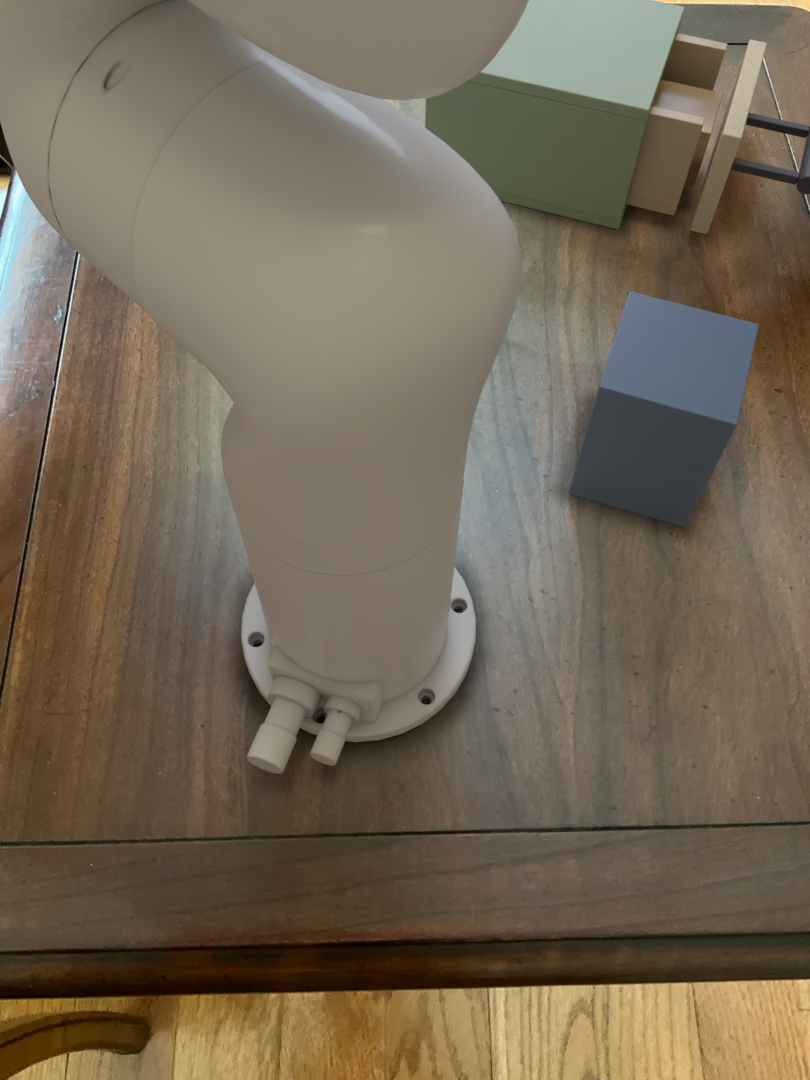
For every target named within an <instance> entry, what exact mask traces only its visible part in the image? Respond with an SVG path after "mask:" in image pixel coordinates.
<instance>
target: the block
mask: <svg viewBox="0 0 810 1080" xmlns="http://www.w3.org/2000/svg"><path fill="white" fill-rule="evenodd" d="M723 96H724V93H723V92H719V91H716V90H713V91H711V90H706V89H702V88H697V87H693V86H688V85H684V84H679V83H675V82H670V81H665V80H661V81H660V83H659V86H658V89H657V92H656V95H655V98H654V101H653V104H652V106H654V107H658V108H663V109H667V110H672V111H676V112H681V113H685V114H690V115H694V116H699V117H703V118H705V121H704V124H703V127H702V131H701V134H700V137H699V140H698V143H697V146H696V150H695V153H694V156H693V159H692V162H691V165H690V168H689V172H688V175H687V178H686V181H685V184H684V187H683V188H685V187H686V188H689V189H694V188H695V185H696V181H697V178H698V175H699V172H700V169H701V166H702V163H703V161H704V157H705V154H706V151H707V149H708V145H709V143H710V139H711V136H712V133H713V130H714V126H715V122H716V119H717V116H718V112H719V109H720V106H721V102H722V98H723Z"/></svg>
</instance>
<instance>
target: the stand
mask: <svg viewBox="0 0 810 1080" xmlns="http://www.w3.org/2000/svg"><path fill="white" fill-rule="evenodd" d="M621 312H622V313H621V316H620V319H619V322H618V325H617V328H616V331H615V334H614V337H613V341H612V344H611V347H610V350H609V353H608V357H607V360H606V363H605V366H604V369H603V373H602V375H601V378H600V381H599V385H598V388H597V392H596V395H595V398H594V401H593V406H592V409H591V413H590V416H589V419H588V423H587V426H586V429H585V433H584V437H583V439H582V444H581V447H580V450H579V454H578V458H577V460H576V465H575V469H574V471H573V475H572V478H571V482H570V485H569V489H568V495H572V496H575V497H579V498H582V499H586V500H589V501H593V502H596V503H599V504H603V505H606V506H610V507H613V508H617V509H620V510H624V511H627V512H630V513H634V514H637V515H641V516H644V517H646V518H647V517H648V518H651V519H654V520H658V521H661V522H664V523H668V524H671V525H675V526H678V527H681V528H686V526H687V524H688V522H689V519H690V518H691V516H692V514H693V512H694V510H695V509H696V506H697V504H698V502H699V500H700V498H701V497H702V494H703V493H704V491H705V489H706V487H707V484H708V482H709V480H710V479H711V477H712V475H713V473H714V471H715V469H716V467H717V465H718V463H719V461H720V459H721V457H722V455H723V453H724V451H725V449H726V448H727V445H728V444H729V441H730V439H731V438H732V436H733V434H734V432H735V430H736V428H737V426H738V422H739V418H740V415H741V414H740V413H741V410H742V404H743V400H744V396H745V391H746V388H747V387H746V386H747V381H748V377H749V372H750V369H751V364H752V359H753V354H754V351H755V346H756V341H757V338H758V337H757V336H758V333H759V328H760V324H759V323H756V322H752V321H748V320H745V319H740V318H736V317H732V316H729V315H724V314H721V313H717V312H713V311H709V310H705V309H701V308H698V307H695V306H694V307H693V306H690V305H687V304H682V303H678V302H674V301H670V300H667V299H662V298H658V297H656V296H655V297H654V296H650V295H647V294H643V293H638V292H634V291H631V290H629V292H628V294H627V297H626V299H625V303H624V306H623V310H622V311H621Z"/></svg>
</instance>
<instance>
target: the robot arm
mask: <svg viewBox="0 0 810 1080" xmlns="http://www.w3.org/2000/svg"><path fill="white" fill-rule="evenodd" d="M528 1H529V0H0V126H1V129H2V134H3V137H4V140H5V143H6V146H7V149H8V153H9V156H10V158H11V161H12V164H13V166H14V168H15V171H16V173H17V175H18V178H19V180H20V183H21V185H22V186H23V188H24V190H25V192H26V194H27V196H28V197H29V199H30V201H31V202H32V203H33V205H34V206H35V208H36V210H37V211H38V212H39V214H40V215H41V216H42V217H43V218H44V220H45V221H46V222H47V223H48V224H49V225H50V226H51V227H52V229H53V230H54V231H55V232H56V233H57V234H58V235H60V237H61V238H62V239H63V240H64V241H65V242H66V243H67V244H68V245H69V246H71V247H72V248H73V249H74V250H75V252H77V253H78V254H79V255H80V256H81V257H82V258H83V259H84V260H86V261H87V262H88V263H89V264H90V265H91V266H93V268H95V269H96V270H97V271H98V272H100V273H101V275H103V276H104V277H105V278H106V279H108V280H109V281H110V282H111V283H112V284H113V285H115V286H116V287H117V288H118V289H119V290H120V291H121V292H123V294H125V295H126V296H127V298H129V299H131V300H132V301H133V302H134V303H135V304H136V305H137V306H139V307H140V308H141V309H142V310H143V311H144V312H145V313H147V314H148V316H149V317H150V319H151V320H153V321H154V323H155V324H156V325H157V326H158V327H160V329H162V330H163V331H164V332H166V334H167V335H169V336H170V337H171V338H172V339H174V340H175V342H177V343H178V344H179V345H180V346H181V347H183V348H184V349H185V350H186V351H187V352H188V353H189V354H190V355H191V356H193V358H195V359H196V360H197V361H198V362H199V363H200V364H201V365H202V366H203V367H204V368H205V369H206V370H207V371H208V372H209V373H210V374H211V375H212V376H213V377H214V378H215V380H216V381H217V382H218V383H219V385H220V386H221V387H222V388H223V390H224V391H225V392H226V393H227V395H228V396H229V398H230V399H231V401H232V402H233V403H232V405H231V407H230V409H229V411H228V412H227V415H226V418H225V420H224V424H223V425H222V432H221V433H222V434H221V441H220V455H221V456H220V457H221V465H222V471H223V476H224V481H225V485H226V488H227V492H228V495H229V499H230V502H231V505H232V508H233V512H234V514H235V517H236V521H237V524H238V529H239V532H240V535H241V539H242V542H243V547H244V550H245V553H246V557H247V561H248V564H249V569H250V571H251V574H252V575H251V576H252V578H253V579H252V580H253V584H252V587H251V588H250V591H249V592H248V595H247V597H246V600H245V604H244V608H243V612H242V615H241V628H240V629H241V633H240V639H241V640H240V641H241V646H242V652H243V659H244V661H245V664H246V667H247V670H248V673H249V676H250V677H251V679H252V681H253V683H254V685H255V686H256V689H257V691H258V692H259V694H260V695H261V696H262V698H264V700H265V701H266V702H267V703H268V705H269V706H270V709H269V711H268V713H267V715H266V718H265V720H264V722H263V723H261V724H260V725H259V728H258V730H257V732H256V734H255V737H254V739H253V740H252V743H251V745H250V748H249V750H248V752H247V755H246V761H248V762H249V763H250V764H252V765H253V766H255V767H257V768H259V769H260V770H264V771H266V772H269V773H271V774H276V775H282V774H283V773H284V771H285V769H286V767H287V764H288V762H289V760H290V757H291V755H292V752H293V750H294V747H295V746H296V743H297V741H298V738H297V735H298V733H299V730H300V729H302V730H303V731H306V732H308V733H309V734H312V735H315V736H316V737H315V740H314V743H313V745H312V748H311V750H310V752H309V757H310V758H311V759H313V760H315V761H316V762H319V763H321V764H323V765H327V766H333V767H334V766H336V765H337V763H338V760H339V758H340V755H341V752H342V751H343V748H344V745H345V742H350V743H352V742H353V743H362V742H374V741H381V740H385V739H388V738H392V737H394V736H399V735H402V734H404V733H407V732H408V731H411V730H412V729H414V728H416V727H419V726H421V725H423V724H424V723H426V722H427V721H428V720H430V719H431V718H432V717H433V716H435V715H436V714H438V713H439V712H440V711H441V710H442V709H443V708H444V707H445V706H446V705H447V703H448V702H449V701H450V700H451V699H452V698H453V697H454V696H455V694H456V693H457V691H458V690H459V688H460V687H461V685H462V683H463V682H464V680H465V678H466V676H467V675H468V670H469V668H470V665H471V662H472V659H473V656H474V650H475V646H476V645H475V644H476V639H477V637H476V633H477V632H476V630H477V618H476V613H475V607H474V602H473V598H472V596H471V593H470V591H469V588H468V586H467V584H466V581H465V579H464V578H463V577H462V574H460V572H459V571H458V569H457V568H456V566H455V564H456V557H457V556H456V554H457V546H458V538H459V537H458V536H459V527H460V519H461V509H462V501H463V493H464V485H465V483H464V482H465V481H464V480H465V479H464V478H465V469H466V462H467V455H468V447H469V440H470V436H471V431H472V426H473V422H474V418H475V414H476V410H477V407H478V404H479V400H480V398H481V396H482V394H483V393H482V392H483V390H484V388H485V385H486V382H487V380H488V377H489V375H490V373H491V370H492V369H493V366H494V364H495V361H496V359H497V357H498V354H499V352H500V349H501V347H502V345H503V342H504V340H505V337H506V336H507V333H508V330H509V328H510V326H511V322H512V319H513V317H514V313H515V311H516V307H517V302H518V298H519V294H520V290H521V284H522V276H523V259H522V251H521V245H520V242H519V237H518V234H517V231H516V228H515V226H514V223H513V221H512V219H511V217H510V215H509V212H508V211H507V209H506V207H505V206H504V204H503V203H502V201H500V200H499V198H498V197H497V195H496V194H495V193H494V191H493V190H492V189H491V187H490V186H489V185H488V184H487V183H486V182H485V181H484V180H483V178H482V177H481V176H480V175H479V174H478V173H477V172H476V171H475V170H474V169H473V168H472V167H471V166H470V164H469V163H468V162H467V161H466V160H464V159H463V158H462V157H461V156H460V155H459V154H457V153H456V152H455V151H454V150H453V149H452V148H450V147H449V146H448V145H447V144H446V143H445V142H443V141H442V140H441V139H440V138H438V137H437V136H436V135H434V134H433V133H432V132H430V131H429V130H427V129H426V128H425V126H424V125H422V124H421V123H420V122H419V121H417V120H416V119H413V118H412V117H411V116H409V115H408V114H406V113H404V112H403V111H401V110H400V109H399V108H397V107H396V106H394V105H392V104H391V103H389V102H388V101H387V100H390V101H403V102H404V101H405V102H406V101H410V100H411V101H412V100H419V99H426V98H431V97H434V96H438V95H441V94H444V93H446V92H448V91H450V90H452V89H454V88H456V87H458V86H459V85H461V84H463V83H464V82H466V81H468V80H470V79H471V78H473V77H474V76H476V75H477V74H478V73H479V72H481V71H482V70H483V69H484V68H485V67H486V66H487V65H488V64H489V63H490V62H491V61H492V60H493V58H494V57H495V56H496V55H497V53H498V52H499V50H500V49H501V48H502V46H503V45H504V44H505V42H506V41H507V40H508V38H509V37H510V35H511V34H512V32H513V31H514V29H515V28H516V26H517V24H518V22H519V20H520V18H521V16H522V14H523V12H524V10H525V8H526V6H527V3H528ZM456 610H460V611H461V612H456ZM258 643H259V644H261V645H259V646H255V645H256V644H258ZM425 699H426V700H427V699H428V700H429V701H430V703H429V704H424V703H423V702H422V701H423V700H425ZM320 718H325V719H324V722H322V723H321V722H318V719H320Z"/></svg>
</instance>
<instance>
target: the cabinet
mask: <svg viewBox="0 0 810 1080" xmlns="http://www.w3.org/2000/svg"><path fill="white" fill-rule="evenodd" d="M685 9H686V7H685V6H682V5H678V4H672V3H668V2H663V1H658V0H529V1H528V3H527V6H526V8H525V10H524V12H523V14H522V16H521V18H520V20H519V22H518V24H517V26H516V28H515V29H514V31H513V32H512V34H511V35H510V37H509V38H508V40H507V41H506V42H505V44H504V45H503V46H502V48H501V49H500V50H499V52H498V53H497V55H496V56H495V57H494V58H493V60H492V61H491V62H490V63H489V64H488V65H487V66H486V67H485V68H484V69H483V70H482V71H481V72H479V73H478V74H477V75H476V76H474V77H473V78H471V79H470V80H468V81H466V82H464V83H463V84H461V85H459V86H458V87H456V88H454V89H452V90H450V91H448V92H446V93H444V94H441V95H438V96H434V97H431V98H425V113H424V114H425V119H424V127H425V128H426V129H427V130H429V131H430V132H432V133H433V134H434V135H436V136H437V137H438V138H440V139H441V140H442V141H443V142H445V143H446V144H447V145H448V146H449V147H450V148H452V149H453V150H454V151H455V152H456V153H457V154H459V155H460V156H461V157H462V158H463V159H464V160H466V161H467V162H468V163H469V164H470V166H471V167H472V168H473V169H474V170H475V171H476V172H477V173H478V174H479V175H480V176H481V177H482V178H483V180H484V181H485V182H486V183H487V184H488V185H489V186H490V187H491V189H492V190H493V191H494V193H495V194H496V195H497V197H498V198H499V200H500V201H501V202H504V203H508V204H512V205H517V206H521V207H525V208H528V209H533V210H537V211H540V212H545V213H548V214H549V213H550V214H553V215H557V216H561V217H566V218H570V219H573V220H576V221H577V220H578V221H582V222H586V223H590V224H594V225H598V226H601V227H602V226H603V227H606V228H610V229H615V230H619V229H620V226H621V223H622V220H623V217H624V214H625V212H626V209H627V206H628V205H627V204H626V201H627V197H628V193H629V189H630V185H631V181H632V178H633V174H634V170H635V166H636V162H637V158H638V154H639V151H640V147H641V143H642V139H643V135H644V131H645V127H646V123H647V120H648V116H649V112H650V109H651V106H652V104H653V101H654V98H655V95H656V92H657V89H658V86H659V83H660V81H661V78H662V75H663V72H664V69H665V66H666V63H667V60H668V58H669V55H670V52H671V49H672V46H673V43H674V40H675V37H676V34H677V33H680V29H681V25H682V21H683V17H684V13H685Z"/></svg>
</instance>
